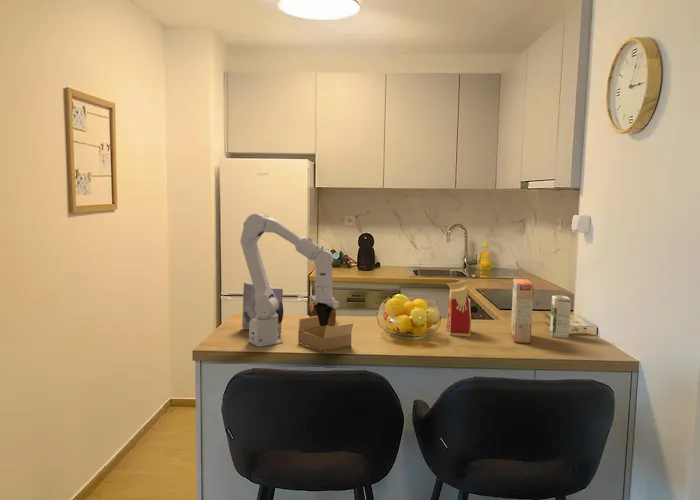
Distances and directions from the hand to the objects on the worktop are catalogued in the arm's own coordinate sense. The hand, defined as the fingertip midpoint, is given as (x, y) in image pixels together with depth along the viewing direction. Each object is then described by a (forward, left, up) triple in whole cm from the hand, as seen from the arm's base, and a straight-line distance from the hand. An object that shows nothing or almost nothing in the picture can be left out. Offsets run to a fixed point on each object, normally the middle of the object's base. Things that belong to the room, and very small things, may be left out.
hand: (323, 325), depth 185 cm
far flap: (0, +6, 0) cm, 6 cm away
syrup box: (+77, -41, -7) cm, 87 cm away
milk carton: (+50, -16, -7) cm, 53 cm away
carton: (0, -1, -6) cm, 7 cm away
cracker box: (+62, -35, -7) cm, 71 cm away
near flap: (0, -8, 0) cm, 8 cm away
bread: (+17, +25, -7) cm, 31 cm away
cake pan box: (-8, +27, -7) cm, 29 cm away
